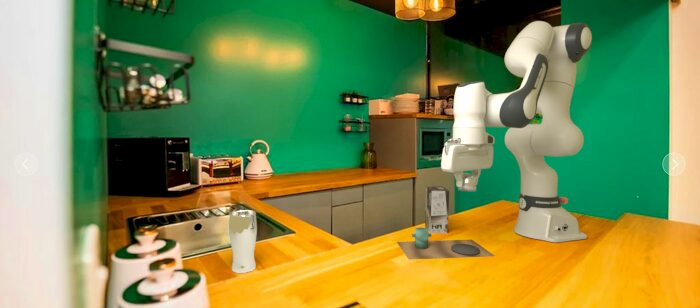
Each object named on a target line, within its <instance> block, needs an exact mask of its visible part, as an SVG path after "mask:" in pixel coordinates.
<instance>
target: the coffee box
mask: <svg viewBox="0 0 700 308" xmlns="http://www.w3.org/2000/svg"><path fill="white" fill-rule="evenodd" d="M449 205H450V190H449V189H447V188H446V187H444V186H439V185H438V186H436V185H435V186H425V212H424V214H425V216H424V217H425V219H424V220H425V221H424V224H425V225H424V228H427V229H428V230H429V233H431V234H448V233H449V209H450V206H449Z"/></svg>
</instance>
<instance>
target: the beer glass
mask: <svg viewBox="0 0 700 308" xmlns="http://www.w3.org/2000/svg"><path fill="white" fill-rule="evenodd" d="M256 214H257V212H256V211H255V210H252V209H240V210H239V209H238V210H233V211H231V212H229V221H228V234H229V241H230V246H231V250H232V264H231V271H232V272H233V273H235V274H246V273H247V274H248V273H250V272H253V271H254V270H255V269H256V267H257V265H256V260H255V249H256V243H257V242H256V241H257V234H258V225H257V224H258V223H257V215H256Z"/></svg>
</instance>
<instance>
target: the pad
mask: <svg viewBox="0 0 700 308" xmlns="http://www.w3.org/2000/svg"><path fill="white" fill-rule="evenodd" d="M451 250H452V251H453V252H455V253H457V254H461V255H468V256H473V255H478V254H479V253H480V249H479V248H477V247H475V246H473V245H469V244H454V245H452V246H451Z"/></svg>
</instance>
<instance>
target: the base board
mask: <svg viewBox="0 0 700 308" xmlns="http://www.w3.org/2000/svg"><path fill="white" fill-rule="evenodd" d="M411 237H412V238H414V241H396V243H397V245H398V246H399V248H400V249H401V250H402V252H403V253H404V255H405V256H406V257H407V259H408V260H431V259H455V258H456V259H457V258H458V259H459V258H481V257H482V258H483V257H484V258H486V257H487V258H488V257H495V255H494V254H493V253H492V252H490V251H489V250H487V249H486V248H484V246H482V245H481V244H479V243H477V242H476V241H475V240H473V239H447V240H446V239H445V240H444V239H443V240H429V238H432V233H430V232H429V230H428V229H427V228H425V227H415V228H414V233H412V234H411ZM454 244H469V245H473V246H475V247H477V248H479V249H480V253H479V254H478V255H473V256H468V255H461V254H457V253H455V252H453V251H452V250H451V246H452V245H454Z"/></svg>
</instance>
